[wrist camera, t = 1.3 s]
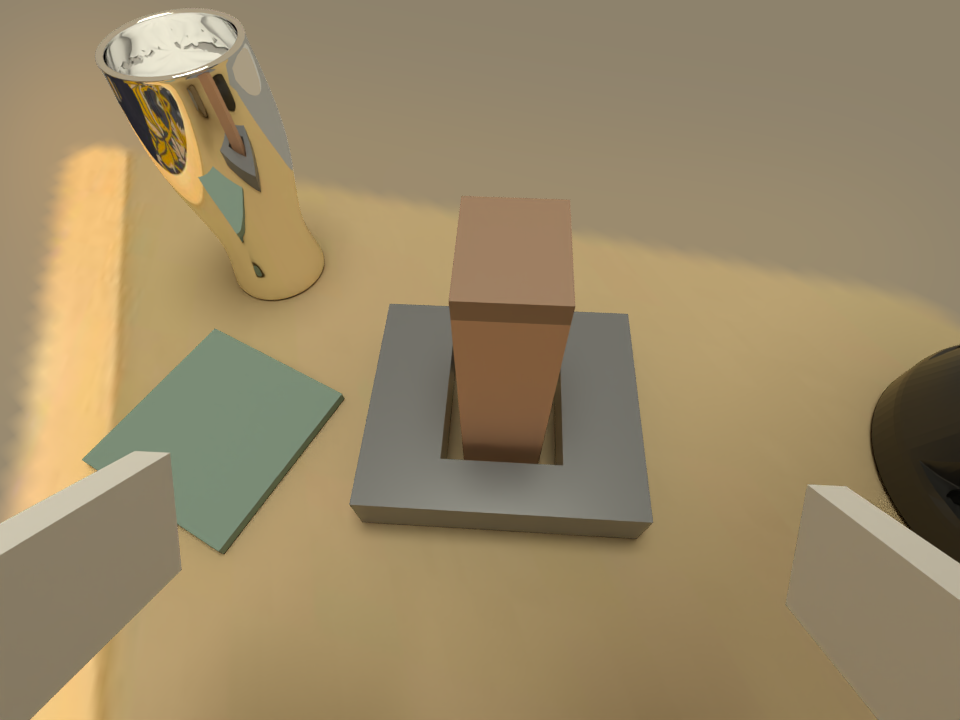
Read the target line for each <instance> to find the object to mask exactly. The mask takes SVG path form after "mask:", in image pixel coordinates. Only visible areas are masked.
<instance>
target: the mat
mask: <svg viewBox="0 0 960 720" xmlns="http://www.w3.org/2000/svg"><path fill="white" fill-rule="evenodd" d="M343 400H344V397H343V395H342V394H341V393H339V392H337V391H335V390H333V389H331V388H329V387H328V386H326V385H324V384H322V383H320V382H318V381H316V380H314V379H312V378H310V377H308V376H306V375H304V374H302V373H300V372H298V371H296V370H295V369H293V368H291V367H289V366H287V365H285V364H283V363H281V362H279V361H277V360H275V359H273V358H271V357H269V356H267V355H265V354H263V353H262V352H260V351H258V350H256V349H254V348H252V347H250V346H248V345H246V344H244V343H242V342H240V341H238V340H236V339H234V338H232V337H230V336H228V335H227V334H225V333H223V332H221V331H219V330H217V329H214V330H213V331H212V332H211V333H210V334H209V335H208V336H207V337H206V338H205V339H204V340H203V341H202V342H201V343H200V344H199V345H198V346H197V347H196V348H195V349H194V350H193V351H192V352H191V353H190V354H189V355H188V356H187V357H186V358H185V359H184V360H183V361H182V362H181V363H180V364H179V365H178V366H176V367H175V368H174V369H173V370H172V371H171V372H170V373H169V374H168V375H167V376H166V377H165V378H164V379H163V380H162V381H161V382H160V383H159V384H158V385H157V386H156V387H155V388H154V389H153V390H152V391H151V392H150V393H149V394H148V395H147V396H146V397H145V398H144V399H143V400H142V401H141V402H140V403H139V404H138V405H137V406H136V407H135V408H134V409H133V410H132V411H131V412H130V413H129V414H128V415H127V416H126V417H125V418H124V419H123V420H122V421H121V422H120V423H119V424H118V425H117V426H116V427H115V428H114V429H113V430H112V431H111V432H110V433H109V434H108V435H107V436H105V437H104V438H103V439H102V440H101V441H100V442H99V443H98V444H97V445H96V446H95V447H94V448H93V449H92V450H91V451H90V452H89V453H88V454H87V455H86V456H85V457H84V458H83V459H82V460H83V461H84V462H86V463H87V464H89V465H90V466H92V467H93V468H95V469H96V470H100V469H102V468H104V467H106V466H108V465H110V464H111V463H113V462H115V461H117V460H119V459H121V458H123V457H124V456H126V455H128V454H130V453H132V452H134V451H145V452H165V453H170V457H171V467H172V477H173V487H174V498H175V508H176V518H177V524H178V525H180V526H181V527H183V528H184V529H186V530H187V531H189V532H190V533H192V534H193V535H195V536H196V537H198V538H199V539H201V540H202V541H204V542H205V543H207V544H208V545H210V546H211V547H213V548H214V549H216V550H217V551H219V552H221V553H223V554H224V553H225V552H226V551H227V549H228V548H229V547H230V546H231V544H232V543H233V542H234V540H235V539H236V538H237V537H238V535H239V534H240V533H241V531H242V530H243V529H244V527H245V526H246V525H247V524H248V522H249V521H250V520H251V518H252V517H253V516H254V515H255V513H256V512H257V511H258V509H259V508H260V507H261V506H262V504H263V503H264V502H265V500H266V499H267V498H268V497H269V495H270V494H271V493H272V491H273V490H274V489H275V488H276V486H277V485H278V484H279V482H280V481H281V480H282V478H283V477H284V476H285V475H286V473H287V472H288V471H289V469H290V468H291V467H292V466H293V464H294V463H295V462H296V460H297V459H298V458H299V457H300V455H301V454H302V453H303V451H304V450H305V449H306V448H307V446H308V445H309V444H310V442H311V441H312V440H313V439H314V437H315V436H316V435H317V433H318V432H319V431H320V429H321V428H322V427H323V426H324V424H325V423H326V422H327V420H328V419H329V418H330V417H331V415H332V414H333V413H334V411H335V410H336V409H337V408H338V406H339V405H340V404H341V402H342V401H343Z"/></svg>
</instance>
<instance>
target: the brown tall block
mask: <svg viewBox="0 0 960 720" xmlns="http://www.w3.org/2000/svg"><path fill="white" fill-rule="evenodd" d="M574 309H575V292H574V272H573V252H572V232H571V212H570V200H563V199H561V200H560V199H533V198H503V197H474V196H473V197H472V196H461V204H460V212H459V220H458V228H457V237H456V245H455V253H454V261H453V269H452V278H451V286H450V294H449V310H450V320H451V331H452V341H453V351H454V362H455V372H456V382H457V393H458V403H459V413H460V424H461V434H462V444H463V455H464V460H473V461H491V462H509V463H527V464H538V462H539V458H540V454H541V449H542V445H543V441H544V437H545V432H546V428H547V424H548V420H549V416H550V411H551V407H552V403H553V399H554V394H555V390H556V386H557V382H558V377H559V373H560V369H561V365H562V360H563V356H564V352H565V348H566V343H567V339H568V335H569V331H570V326H571V322H572V318H573V314H574Z"/></svg>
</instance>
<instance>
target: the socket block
mask: <svg viewBox="0 0 960 720" xmlns="http://www.w3.org/2000/svg"><path fill="white" fill-rule="evenodd" d="M454 381H455V362H454V351H453V341H452V331H451V320H450V310H449V306H429V305H406V304H390V305H389V310H388V315H387V320H386V325H385V330H384V335H383V340H382V345H381V350H380V355H379V360H378V365H377V370H376V375H375V380H374V385H373V390H372V395H371V400H370V405H369V410H368V415H367V420H366V425H365V429H364V434H363V439H362V444H361V449H360V454H359V459H358V464H357V469H356V474H355V479H354V484H353V489H352V494H351V499H350V504H349V505H350V506H351V507H352V509H353V510H354V511H355V513H356V514H357V515H358V517H359V518H360V519H361V521H362V522H369V523H386V524H402V525H419V526H435V527H452V528H468V529H485V530H501V531H518V532H534V533H551V534H567V535H584V536H600V537H617V538H633V539H637V538H638V537H639V536H640V535H641V534H642V533H643V532H644V531H645V530H646V529H647V528H648V527H649V526H650V525H651V524H652V523H653V518H652V510H651V502H650V493H649V485H648V477H647V468H646V460H645V452H644V443H643V435H642V427H641V418H640V410H639V402H638V393H637V385H636V377H635V368H634V360H633V352H632V343H631V335H630V327H629V318H628V314H617V313H594V312H574V314H573V318H572V322H571V326H570V331H569V335H568V339H567V343H566V348H565V352H564V356H563V360H562V365H561V369H560V373H559V377H558V382H557V386H556V390H555V394H554V405H555V457H556V465H545V464H527V463H509V462H491V461H473V460H455V459H447V449H448V440H449V430H450V420H451V410H452V401H453V391H454Z"/></svg>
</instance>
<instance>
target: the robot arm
mask: <svg viewBox="0 0 960 720" xmlns="http://www.w3.org/2000/svg"><path fill="white" fill-rule="evenodd" d="M872 444H873V450H874V456H875V460H876V463H877V467H878V470H879V473H880V475H881V478H882V480H883V483H884V485H885V487H886V489H887V491H888V493H889V495H890V497H891V499H892V500H893V502H894V504H895V506H896V507H897V509H898V510H899V512H900V513H901V515H902V516H903V518H904V519H905V521H906V522H907V523H908V525H909V526H910V527H911V529H912V530H913V531H914V532H915V533H914V532H913V531H911V530H910V529H908V528H907V527H905V526H904V525H902V524H901V523H899V522H898V521H896V520H895V519H893V518H892V517H891V516H889V515H888V514H886V513H885V512H883V511H882V510H880V509H879V508H877V507H876V506H874V505H873V504H871V503H870V502H868V501H867V500H865V499H864V498H863V497H861V496H860V495H858V494H857V493H855V492H854V491H852V490H851V489H849V488H848V487H846V486H828V485H808V484H807V489H806V494H805V500H804V505H803V511H802V516H801V522H800V527H799V533H798V538H797V544H796V549H795V555H794V560H793V566H792V571H791V577H790V582H789V588H788V593H787V599H786V604H785V605H786V606H787V607H788V608H789V610H790V611H791V612H792V613H793V615H794V616H795V617H796V618H797V620H798V621H799V622H800V623H801V625H802V626H803V627H804V628H805V630H806V631H807V632H808V633H809V634H810V636H811V637H812V638H813V639H814V641H815V642H816V643H817V644H818V646H819V647H820V648H821V649H822V651H823V652H824V653H825V654H826V656H827V657H828V658H829V659H830V661H831V662H832V663H833V664H834V666H835V667H836V668H837V669H838V671H839V672H840V673H841V674H842V675H843V677H844V678H845V679H846V680H847V682H848V683H849V684H850V685H851V687H852V688H853V689H854V690H855V692H856V693H857V694H858V695H859V697H860V698H861V699H862V700H863V702H864V703H865V704H866V705H867V707H868V708H869V709H870V710H871V712H872V713H873V714H874V715H875V716H876V718H877V719H878V720H960V345H957V346H953V347H949V348H946V349H943V350H941V351H939V352H936V353H934V354H932V355H930V356H928V357H927V358H925V359H923V360H922V361H920V362H919V363H917V364H916V365H915V366H913V367H912V368H911V369H909V370H908V371H907V372H905V373H904V374H903V375H901V376H900V377H899V378H897V379H896V380H895V381H894V382H892V383H891V384H890V385H889V386H888V388H887V389H886V390H885V391H884V393H883V394H882V396H881V398H880V399H879V401H878V404H877V406H876V409H875V412H874V416H873V422H872ZM181 570H182V569H181V559H180V548H179V538H178V528H177V518H176V508H175V498H174V487H173V477H172V467H171V457H170V453H165V452H145V451H134V452H132V453H130V454H128V455H126V456H124V457H123V458H121V459H119V460H117V461H115V462H113V463H111V464H110V465H108V466H106V467H104V468H102V469H100V470H98V471H97V472H95V473H93V474H91V475H89V476H87V477H85V478H84V479H82V480H80V481H78V482H76V483H74V484H72V485H71V486H69V487H67V488H65V489H63V490H61V491H59V492H58V493H56V494H54V495H52V496H50V497H48V498H46V499H45V500H43V501H41V502H39V503H37V504H35V505H33V506H32V507H30V508H28V509H26V510H24V511H22V512H20V513H19V514H17V515H15V516H13V517H11V518H9V519H8V520H6V521H4V522H2V523H0V720H30V719H31V718H32V717H33V716H34V715H35V714H36V713H37V712H38V711H39V710H40V709H41V708H42V707H43V706H44V705H45V704H46V703H47V702H48V701H49V700H50V699H51V698H52V697H53V696H54V695H55V694H56V693H57V692H58V691H59V690H60V689H61V688H62V687H63V686H64V685H65V684H66V683H67V682H68V681H69V680H70V679H71V678H73V677H74V676H75V675H76V674H77V673H78V672H79V671H80V670H81V669H82V668H83V667H84V666H85V665H86V664H87V663H88V662H89V661H90V660H91V659H92V658H93V657H94V656H95V655H96V654H97V653H98V652H99V651H100V650H101V649H102V648H103V647H104V646H105V645H106V644H107V643H108V642H109V641H110V640H111V639H112V638H113V637H114V636H115V635H116V634H117V633H118V632H119V631H120V630H121V629H122V628H123V627H124V626H125V625H126V624H127V623H128V622H129V621H130V620H131V619H132V618H133V617H134V616H135V615H136V614H137V613H138V612H139V611H140V610H141V609H142V608H143V607H144V606H145V605H146V604H147V603H148V602H149V601H150V600H151V599H152V598H153V597H154V596H155V595H156V594H157V593H159V592H160V591H161V590H162V589H163V588H164V587H165V586H166V585H167V584H168V583H169V582H170V581H171V580H172V579H173V578H174V577H175V576H176V575H177V574H178V573H179V572H180V571H181Z"/></svg>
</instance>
